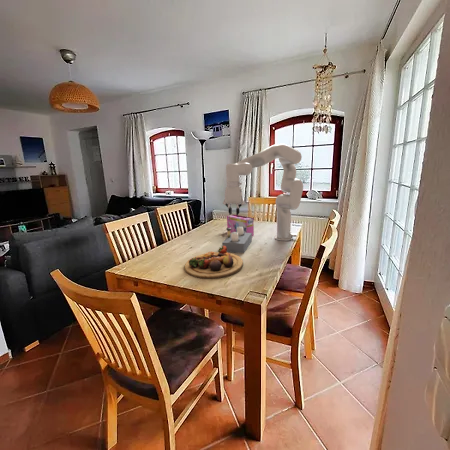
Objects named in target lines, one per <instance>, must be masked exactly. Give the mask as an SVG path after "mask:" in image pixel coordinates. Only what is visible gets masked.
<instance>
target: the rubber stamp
mask: <svg viewBox="0 0 450 450" xmlns="http://www.w3.org/2000/svg"><path fill="white" fill-rule="evenodd" d="M230 230H231V228H227V227H226V231H227V234H226V235H227V237H228V238H230V237H231V235H230V234H231V233H230Z"/></svg>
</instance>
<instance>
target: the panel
mask: <svg viewBox="0 0 450 450" xmlns="http://www.w3.org/2000/svg"><path fill="white" fill-rule="evenodd" d="M232 233H233V232H232ZM243 234H244V236H238V241H239V242H232V239H231V237H230V238H228V236H227V237H226V238H225V239H224V240H223V241H222V242H221V244H222V246H226V248H227V253H237V254H245V253H246V251H247V249H248V248H249V246H250V245H251V244H252V241H253V239H252V238H253V236H252V233H243ZM230 235H231V233H230ZM222 246H221V247H222Z"/></svg>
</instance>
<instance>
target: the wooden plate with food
mask: <svg viewBox="0 0 450 450" xmlns="http://www.w3.org/2000/svg"><path fill="white" fill-rule="evenodd" d="M243 266H244V261H243V259H242V257H240V256H239V255H237V254H235V253H232V252H227V248H226V246H221V247H218V250H217V252H216V251H208V252H206V253H203V254H198V255H196V256H193V257H191V258H190V259H188V260H187V261H186V263H185V265H184V267H183V268H184V271H185V273H186V274H188V275H189V276H191V277H193V278H196V277H197V279H204V280H216V279H223V278H227V277H231V276H233V275H234V274H236V273H238V272H239V271H241V269H242V268H243Z"/></svg>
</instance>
